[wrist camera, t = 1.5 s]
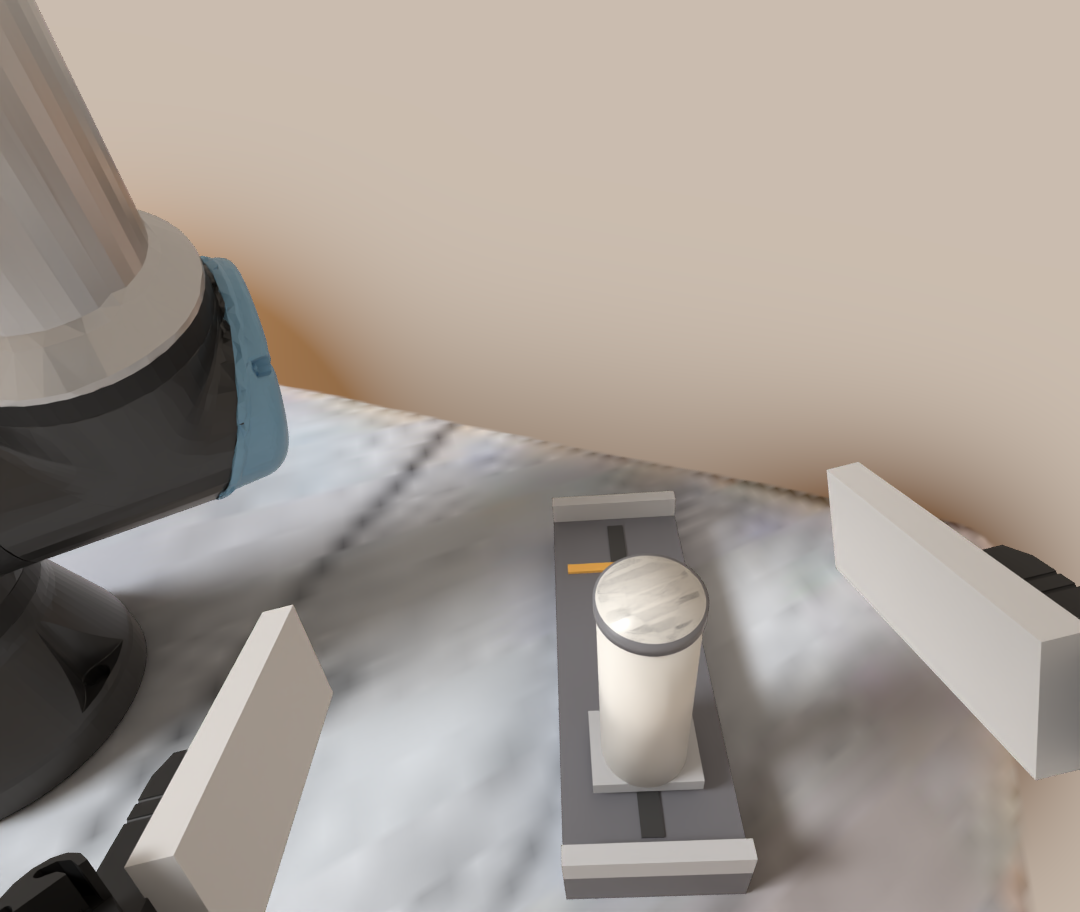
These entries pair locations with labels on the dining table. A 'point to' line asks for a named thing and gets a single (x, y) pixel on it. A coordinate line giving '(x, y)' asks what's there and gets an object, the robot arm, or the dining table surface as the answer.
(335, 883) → the dining table surface
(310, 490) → the dining table surface
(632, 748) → the fader knob
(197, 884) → the robot arm
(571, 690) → the fader console
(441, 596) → the dining table surface
